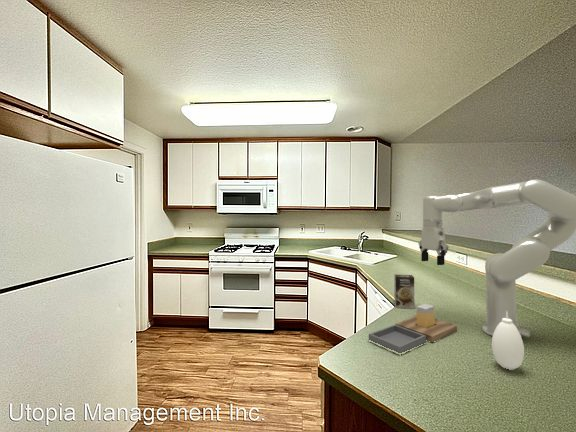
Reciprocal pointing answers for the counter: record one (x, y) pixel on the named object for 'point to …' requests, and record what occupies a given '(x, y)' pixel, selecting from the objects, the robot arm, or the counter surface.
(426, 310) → the block
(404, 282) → the coffee box
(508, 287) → the robot arm
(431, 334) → the wooden plate with hole
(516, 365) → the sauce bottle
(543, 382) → the counter surface
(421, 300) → the counter surface
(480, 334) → the counter surface
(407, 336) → the parts tray
